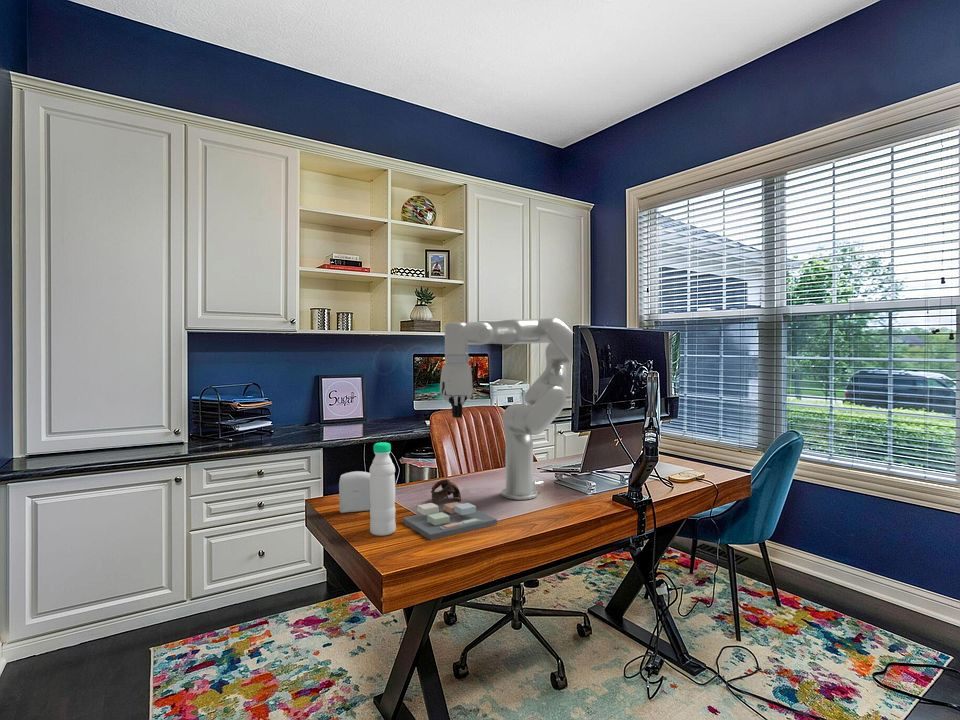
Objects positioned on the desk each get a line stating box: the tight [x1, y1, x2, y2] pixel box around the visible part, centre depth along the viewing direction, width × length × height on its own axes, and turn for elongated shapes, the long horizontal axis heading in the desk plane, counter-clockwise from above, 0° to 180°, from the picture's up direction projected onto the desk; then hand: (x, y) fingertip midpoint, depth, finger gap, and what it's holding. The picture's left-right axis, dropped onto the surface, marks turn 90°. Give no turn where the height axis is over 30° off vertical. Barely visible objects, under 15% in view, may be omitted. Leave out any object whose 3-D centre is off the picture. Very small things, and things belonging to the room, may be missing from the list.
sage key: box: [427, 512, 450, 526], centre depth 152 cm, size 5×4×2 cm
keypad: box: [402, 508, 498, 541], centre depth 156 cm, size 22×17×2 cm
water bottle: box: [369, 441, 397, 537], centre depth 149 cm, size 7×7×25 cm
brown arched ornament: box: [430, 478, 463, 503], centre depth 179 cm, size 12×10×8 cm
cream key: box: [416, 502, 440, 515], centre depth 157 cm, size 5×4×2 cm
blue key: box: [454, 502, 477, 515], centre depth 157 cm, size 5×4×2 cm
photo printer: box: [338, 470, 371, 514], centre depth 168 cm, size 10×4×12 cm, turn 104°
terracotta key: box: [443, 501, 462, 514], centre depth 162 cm, size 5×4×2 cm
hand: (457, 417), depth 172 cm, fingers closed
